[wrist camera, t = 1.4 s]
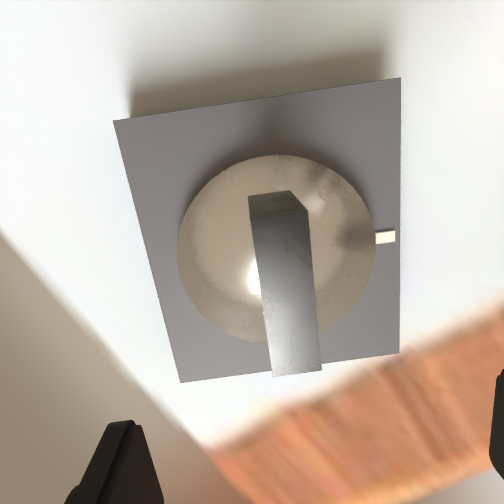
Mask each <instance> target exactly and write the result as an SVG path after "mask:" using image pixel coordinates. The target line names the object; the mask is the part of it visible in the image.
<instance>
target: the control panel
mask: <svg viewBox="0 0 504 504" xmlns="http://www.w3.org/2000/svg"><path fill="white" fill-rule="evenodd" d="M113 124H114V127H115V131H116V135H117V139H118V143H119V147H120V151H121V155H122V158H123V162H124V166H125V170H126V174H127V178H128V182H129V185H130V189H131V193H132V197H133V201H134V205H135V209H136V213H137V216H138V220H139V224H140V228H141V232H142V236H143V240H144V244H145V247H146V251H147V255H148V259H149V263H150V267H151V271H152V275H153V278H154V282H155V286H156V290H157V294H158V298H159V302H160V306H161V309H162V313H163V317H164V321H165V325H166V329H167V333H168V337H169V340H170V344H171V348H172V352H173V356H174V360H175V364H176V368H177V371H178V375H179V379H180V383H184V382H192V381H199V380H206V379H214V378H221V377H229V376H236V375H243V374H251V373H258V372H265V371H272V367H271V360H270V353H269V346H268V344H267V343H257V342H251V341H247V340H244V339H240V338H238V337H235V336H232V335H230V334H228V333H226V332H224V331H222V330H221V329H219V328H217V327H216V326H215V325H213V324H212V323H210V322H209V321H208V320H207V319H206V318H205V317H204V316H203V315H202V314H201V313H200V312H199V311H198V310H197V309H196V307H195V306H194V305H193V303H192V302H191V300H190V299H189V297H188V295H187V293H186V291H185V289H184V287H183V285H182V282H181V279H180V275H179V271H178V265H177V241H178V234H179V231H180V227H181V223H182V221H183V218H184V216H185V214H186V211H187V210H188V208H189V206H190V205H191V203H192V201H193V200H194V198H195V197H196V196H197V194H198V193H199V192H200V191H201V190H202V188H203V187H204V186H205V185H206V184H207V183H208V182H209V181H210V180H211V179H212V178H213V177H215V176H216V175H218V174H219V173H220V172H222V171H223V170H225V169H226V168H228V167H230V166H232V165H234V164H236V163H238V162H241V161H244V160H247V159H249V158H254V157H258V156H263V155H276V154H277V155H291V156H297V157H302V158H305V159H308V160H311V161H314V162H317V163H320V164H322V165H324V166H326V167H327V168H329V169H331V170H333V171H334V172H336V173H337V174H339V175H340V176H341V177H343V178H344V179H345V180H346V181H347V182H348V183H349V184H350V185H351V186H352V187H353V188H354V189H355V190H356V192H357V193H358V194H359V196H360V197H361V198H362V200H363V202H364V204H365V205H366V207H367V209H368V212H369V214H370V217H371V219H372V223H373V228H374V232H375V242H376V249H375V260H374V266H373V270H372V273H371V276H370V279H369V282H368V284H367V286H366V288H365V290H364V292H363V293H362V295H361V297H360V298H359V300H358V301H357V302H356V304H355V305H354V306H353V307H352V308H351V310H350V311H349V312H348V313H347V314H346V315H345V316H344V317H342V318H341V319H340V320H339V321H338V322H336V323H335V324H334V325H332V326H331V327H329V328H327V329H326V330H324V331H322V332H320V333H319V344H320V355H321V364H324V363H331V362H339V361H346V360H353V359H361V358H368V357H375V356H383V355H390V354H397V353H399V328H400V143H401V77H400V78H394V79H387V80H380V81H374V82H367V83H360V84H354V85H347V86H340V87H334V88H327V89H320V90H314V91H307V92H300V93H294V94H287V95H280V96H274V97H267V98H260V99H254V100H247V101H240V102H234V103H227V104H221V105H214V106H207V107H201V108H194V109H187V110H181V111H174V112H167V113H161V114H154V115H147V116H141V117H134V118H127V119H121V120H114V121H113Z"/></svg>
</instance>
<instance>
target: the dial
mask: <svg viewBox="0 0 504 504" xmlns="http://www.w3.org/2000/svg"><path fill="white" fill-rule="evenodd" d="M375 249H376V242H375V232H374V228H373V223H372V219H371V217H370V214H369V212H368V209H367V207H366V205H365V204H364V202H363V200H362V198H361V197H360V196H359V194H358V193H357V192H356V190H355V189H354V188H353V187H352V186H351V185H350V184H349V183H348V182H347V181H346V180H345V179H344V178H343V177H341V176H340V175H339V174H337V173H336V172H334V171H333V170H331V169H329V168H327V167H326V166H324V165H322V164H320V163H317V162H314V161H311V160H308V159H305V158H302V157H297V156H291V155H277V154H276V155H263V156H258V157H254V158H249V159H247V160H244V161H241V162H238V163H236V164H234V165H232V166H230V167H228V168H226V169H225V170H223V171H222V172H220V173H219V174H218V175H216V176H215V177H213V178H212V179H211V180H210V181H209V182H208V183H207V184H206V185H205V186H204V187H203V188H202V190H201V191H200V192H199V193H198V194H197V196H196V197H195V198H194V200H193V201H192V203H191V205H190V206H189V208H188V210H187V211H186V214H185V216H184V218H183V221H182V223H181V227H180V231H179V234H178V241H177V265H178V271H179V275H180V279H181V282H182V285H183V287H184V289H185V291H186V293H187V295H188V297H189V299H190V300H191V302H192V303H193V305H194V306H195V307H196V309H197V310H198V311H199V312H200V313H201V314H202V315H203V316H204V317H205V318H206V319H207V320H208V321H209V322H210V323H212V324H213V325H215V326H216V327H217V328H219V329H221V330H222V331H224V332H226V333H228V334H230V335H232V336H235V337H238V338H240V339H244V340H247V341H251V342H257V343H267V344H268V346H269V353H270V360H271V367H272V374H273V377H276V376H284V375H291V374H298V373H306V372H313V371H320V370H322V367H321V355H320V344H319V333H320V332H322V331H324V330H326V329H327V328H329V327H331V326H332V325H334V324H335V323H336V322H338V321H339V320H340V319H341V318H342V317H344V316H345V315H346V314H347V313H348V312H349V311H350V310H351V308H352V307H353V306H354V305H355V304H356V302H357V301H358V300H359V298H360V297H361V295H362V293H363V292H364V290H365V288H366V286H367V284H368V282H369V279H370V276H371V273H372V270H373V266H374V260H375Z"/></svg>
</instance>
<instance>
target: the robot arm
mask: <svg viewBox="0 0 504 504" xmlns="http://www.w3.org/2000/svg"><path fill="white" fill-rule="evenodd" d="M489 456H490V460H491V462H492V464H493V466H494V468H495V469H496V471H497V472H498V473H499V474H500V476H501V477H502V478H503V479H504V369H503V370H502V372H501V375H498V377H497V379H496V388H495V398H494V408H493V418H492V427H491V437H490V447H489ZM64 504H164V498H163V494H162V491H161V488H160V484H159V481H158V478H157V474H156V471H155V468H154V465H153V461H152V458H151V455H150V452H149V448H148V445H147V442H146V439H145V435H144V432H143V429H142V427H141V425H136V424H135V422H134V421H133V420H127V421H120V422H112V423H110V424H108V426H107V428H106V430H105V431H104V434H103V436H102V438H101V440H100V442H99V444H98V446H97V448H96V451H95V453H94V455H93V457H92V459H91V461H90V463H89V465H88V467H87V470H86V472H85V474H84V476H83V478H82V480H81V482H80V484H79V485H77V486H76V487H75V488H74V489H72V491H71V492H70V494H69V495H68V497H67V499H66V501H65V503H64Z"/></svg>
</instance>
